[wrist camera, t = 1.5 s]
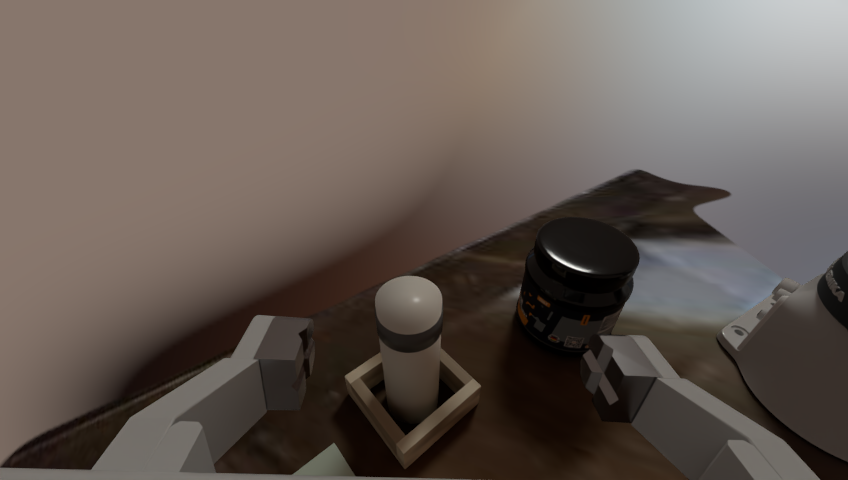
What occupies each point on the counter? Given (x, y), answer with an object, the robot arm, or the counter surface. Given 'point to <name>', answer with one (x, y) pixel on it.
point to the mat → (327, 464)
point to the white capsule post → (410, 345)
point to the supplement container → (575, 284)
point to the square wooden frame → (432, 426)
